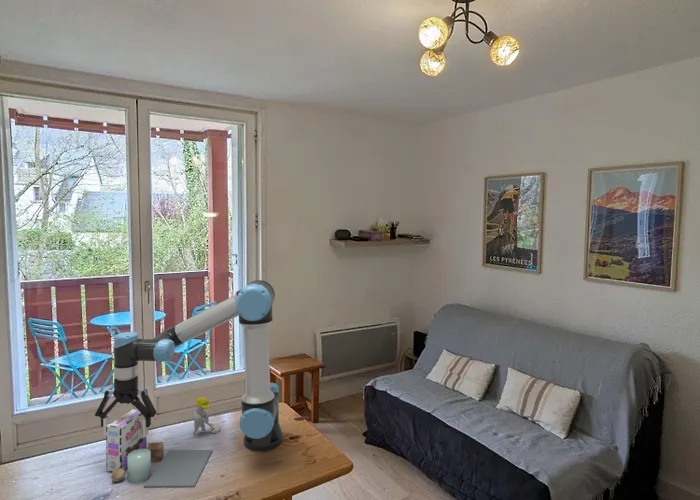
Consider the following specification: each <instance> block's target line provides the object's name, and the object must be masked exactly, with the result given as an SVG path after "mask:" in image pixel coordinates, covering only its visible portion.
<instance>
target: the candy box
mask: <svg viewBox="0 0 700 500" xmlns="http://www.w3.org/2000/svg"><path fill="white" fill-rule="evenodd" d="M144 418H145V417H144V416H143V415H142V414H141V413H140V411H139V410H138V409H134V408H133V409H131V410H130V411H129V412H127V413H125V414H123V415H122V416H120V417H118V418H117V419H115V420H114V421H112V422H111V423H110V422H109V424H108V425H106V437H105V438H106V439H105V440H106V442H105V444H106V446H105V449H106V451H105V452H106V468H105V469H106V472H110V473H112V472H113V471H114V470H115V469H117V468H122V469H124V471H125V472H126V470H128V459H127V456H128V454H129V453H130V452H132V451H134V450H137V449H147V447H148V445H147V436H146V437H143V419H144Z"/></svg>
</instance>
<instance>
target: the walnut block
mask: <svg viewBox="0 0 700 500" xmlns="http://www.w3.org/2000/svg"><path fill="white" fill-rule="evenodd" d="M147 449H149V450H150V451H151V464H154V463H160V462H161V461H162V459H163V458H164V456H165V455H164V441H157V442H156V441H155V442H150V443H148V445H147Z"/></svg>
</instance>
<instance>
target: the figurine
mask: <svg viewBox="0 0 700 500" xmlns="http://www.w3.org/2000/svg"><path fill="white" fill-rule="evenodd" d="M194 403H195V405H196V407H197V408H196V409H195V410H194V412H193V413H192V414H193V415H192V418H193V423H194V424H193V425H194V429H193V432H192V435H193V436H199V434H198V431H199V429H200V428H201V432H202V433H203V434H206V433H208V431H207V429H206V425H207V426H208V427H210V429H209V432H210V433H211V434H218V433H220V431H221V430H222V429H221V426H220V425H219V424H216V423H215V424H213V423H210V422H209V421H210V419H209V414H208V412H207V411H206V410H205V409H209V408H210V407H211V405H210V403H209V400H208V399H207V398H206V397H204V396H202V397H198V399H196V400H195V402H194Z"/></svg>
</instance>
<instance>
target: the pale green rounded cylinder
mask: <svg viewBox="0 0 700 500" xmlns="http://www.w3.org/2000/svg"><path fill="white" fill-rule="evenodd" d="M127 459H128V468H127V481H128V482H129V483H130V484H131V483H132V484H139V483H143V482H145V481H146V482H147V481H148V479H149V478H150V477H151V475H152V467H151V466H152V463H151V451H150V450H149V449H137V450H134V451H132V452H130V453H129V454H128V456H127Z"/></svg>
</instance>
